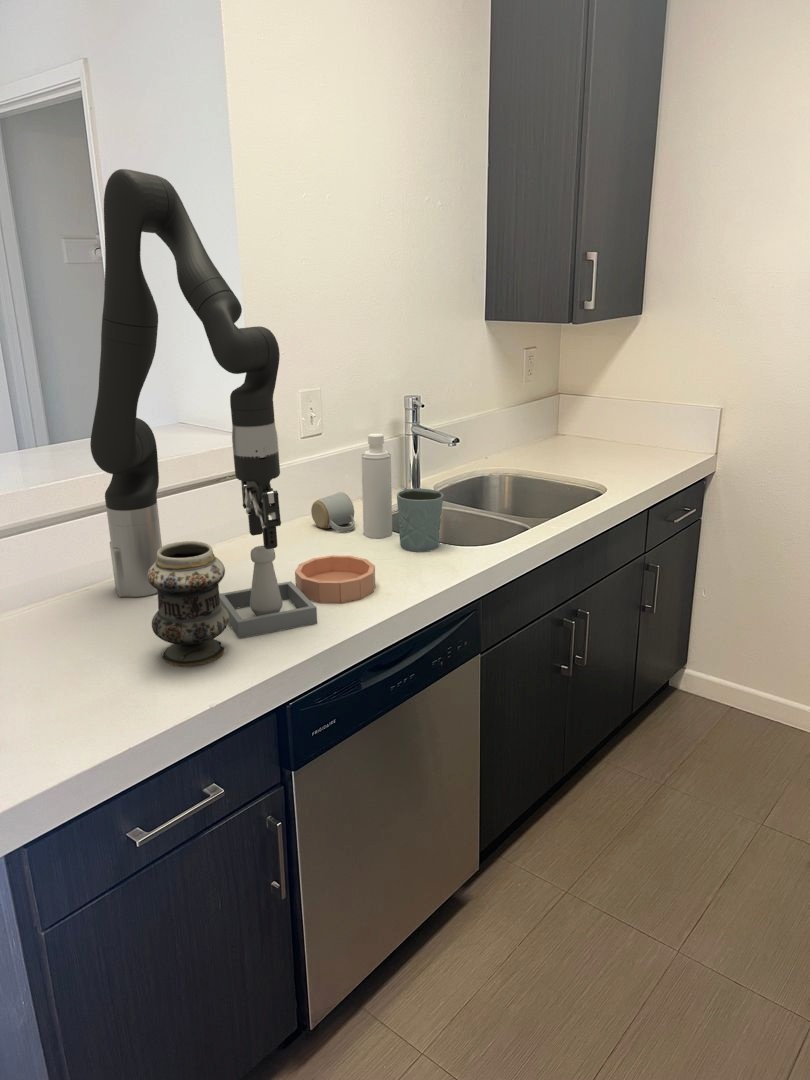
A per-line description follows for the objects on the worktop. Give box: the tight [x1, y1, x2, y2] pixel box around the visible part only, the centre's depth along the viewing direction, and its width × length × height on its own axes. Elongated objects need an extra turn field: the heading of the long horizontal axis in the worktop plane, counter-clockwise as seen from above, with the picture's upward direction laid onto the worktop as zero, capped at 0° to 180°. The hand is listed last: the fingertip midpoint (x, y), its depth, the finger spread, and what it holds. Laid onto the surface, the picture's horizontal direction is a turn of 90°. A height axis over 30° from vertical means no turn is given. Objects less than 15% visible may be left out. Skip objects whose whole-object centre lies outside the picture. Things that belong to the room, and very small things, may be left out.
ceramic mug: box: [310, 491, 356, 533], centre depth 197 cm, size 11×8×8 cm
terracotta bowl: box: [294, 554, 376, 604], centre depth 160 cm, size 15×15×4 cm
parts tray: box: [219, 580, 318, 639], centre depth 148 cm, size 14×14×3 cm
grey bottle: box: [361, 432, 393, 539], centre depth 188 cm, size 7×7×25 cm
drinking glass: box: [396, 488, 444, 553], centre depth 182 cm, size 10×10×12 cm
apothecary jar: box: [148, 540, 229, 668], centre depth 131 cm, size 12×12×18 cm
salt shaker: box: [249, 545, 283, 617], centre depth 146 cm, size 6×6×13 cm
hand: (263, 541), depth 144 cm, fingers open, 8 cm apart
